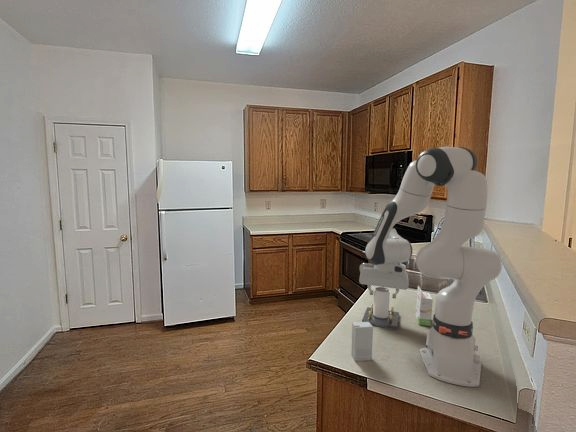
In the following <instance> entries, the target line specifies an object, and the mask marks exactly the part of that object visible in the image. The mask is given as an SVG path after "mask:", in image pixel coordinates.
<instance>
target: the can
mask: <svg viewBox="0 0 576 432" xmlns="http://www.w3.org/2000/svg"><path fill="white" fill-rule="evenodd" d="M373 293H374V294H373V304H374V305H373V315H374V316H375V317H377V318H380V319H385V318H387V317H388V316H389V311H390V298H391V297H390V296H391V295H390V288H389V289H388V287H380V286H376V287H375V290H374V292H373Z"/></svg>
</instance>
